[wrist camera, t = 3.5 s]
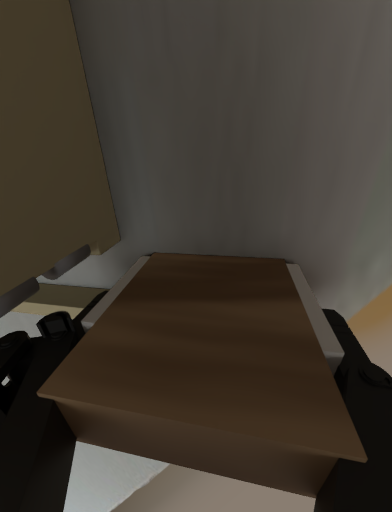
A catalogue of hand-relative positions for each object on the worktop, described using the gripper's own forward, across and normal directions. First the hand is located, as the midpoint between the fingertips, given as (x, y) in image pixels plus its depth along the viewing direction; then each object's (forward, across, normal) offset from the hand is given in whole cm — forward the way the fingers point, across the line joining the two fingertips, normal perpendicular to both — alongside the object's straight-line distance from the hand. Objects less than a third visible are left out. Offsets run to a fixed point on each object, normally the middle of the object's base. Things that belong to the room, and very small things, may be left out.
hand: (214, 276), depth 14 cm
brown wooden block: (+1, 0, 0) cm, 1 cm away
